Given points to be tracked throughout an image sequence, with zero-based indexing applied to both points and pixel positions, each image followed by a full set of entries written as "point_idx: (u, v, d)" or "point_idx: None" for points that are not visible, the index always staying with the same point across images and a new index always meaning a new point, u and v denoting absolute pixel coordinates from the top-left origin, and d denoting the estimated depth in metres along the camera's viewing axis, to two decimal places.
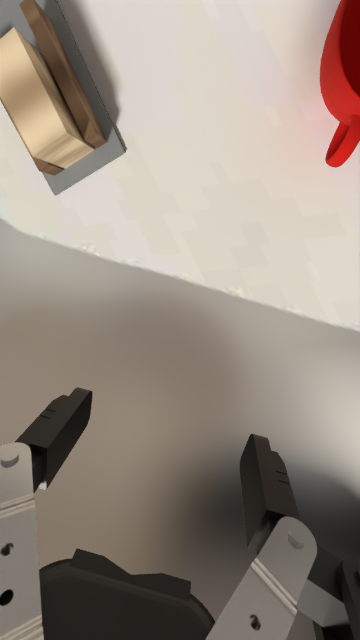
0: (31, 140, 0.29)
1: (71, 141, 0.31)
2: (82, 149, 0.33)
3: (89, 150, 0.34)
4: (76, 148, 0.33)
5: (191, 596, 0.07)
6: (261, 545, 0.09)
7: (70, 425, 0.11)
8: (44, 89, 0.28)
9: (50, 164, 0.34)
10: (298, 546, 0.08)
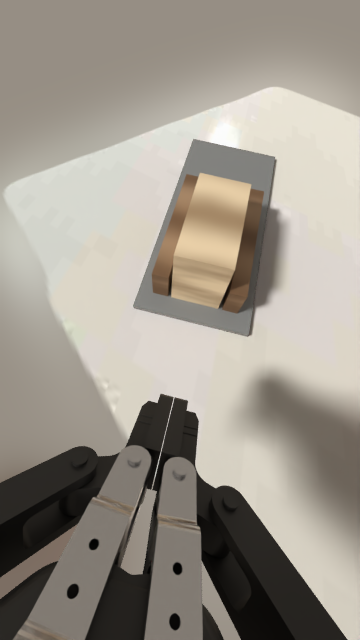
0: (187, 244, 0.21)
1: (221, 281, 0.22)
2: (212, 297, 0.25)
3: (215, 304, 0.26)
4: (210, 291, 0.24)
5: None
6: (158, 484, 0.10)
7: None
8: (241, 228, 0.22)
9: (168, 280, 0.25)
10: (178, 477, 0.09)
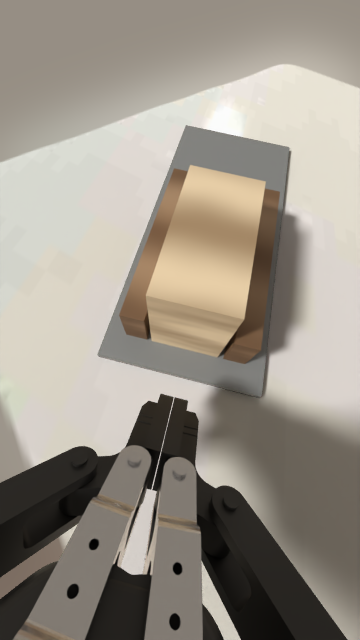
0: (168, 277, 0.13)
1: (221, 330, 0.15)
2: (209, 346, 0.17)
3: (213, 353, 0.18)
4: (206, 339, 0.16)
5: None
6: (158, 484, 0.10)
7: None
8: (253, 249, 0.15)
9: (144, 322, 0.17)
10: (178, 477, 0.09)
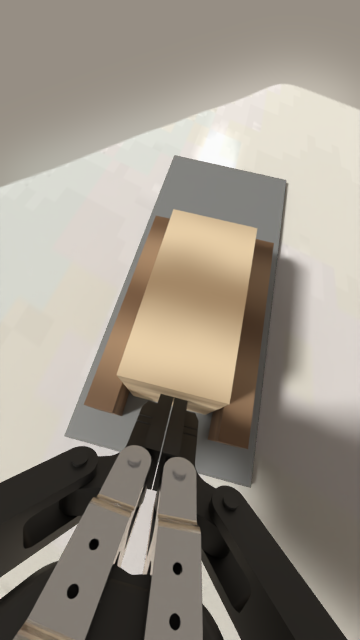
0: (143, 351, 0.12)
1: (206, 404, 0.13)
2: (195, 408, 0.16)
3: (200, 412, 0.17)
4: (191, 405, 0.15)
5: None
6: (158, 484, 0.10)
7: None
8: (241, 313, 0.13)
9: (114, 410, 0.14)
10: (178, 477, 0.09)
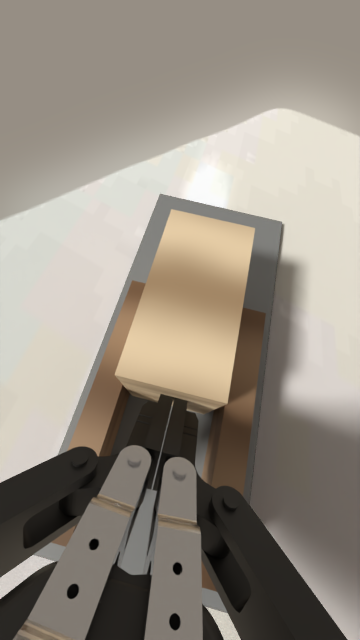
0: (141, 350, 0.12)
1: (204, 404, 0.13)
2: (194, 408, 0.16)
3: (199, 412, 0.17)
4: (189, 405, 0.15)
5: None
6: (159, 484, 0.10)
7: None
8: (239, 313, 0.13)
9: None
10: (178, 477, 0.09)
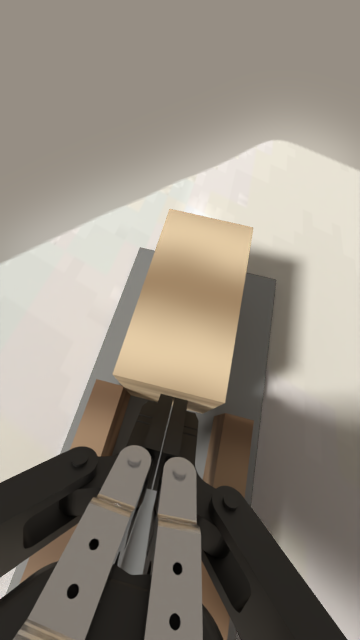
0: (139, 350, 0.12)
1: (202, 403, 0.13)
2: (192, 407, 0.16)
3: (198, 411, 0.17)
4: (188, 404, 0.15)
5: None
6: (159, 484, 0.10)
7: None
8: (237, 312, 0.13)
9: None
10: (178, 477, 0.09)
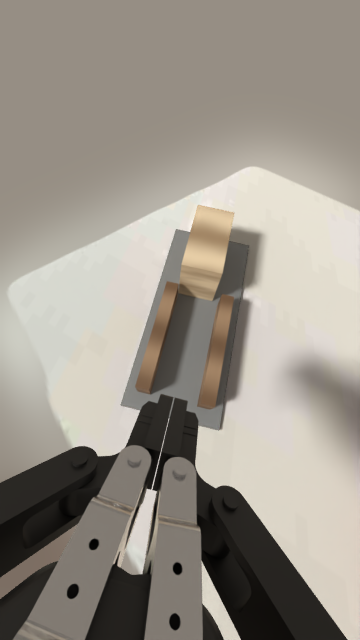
0: (190, 257, 0.32)
1: (213, 281, 0.33)
2: (208, 292, 0.36)
3: (210, 297, 0.37)
4: (206, 288, 0.35)
5: None
6: (159, 484, 0.10)
7: None
8: (227, 245, 0.33)
9: (149, 389, 0.29)
10: (178, 477, 0.09)
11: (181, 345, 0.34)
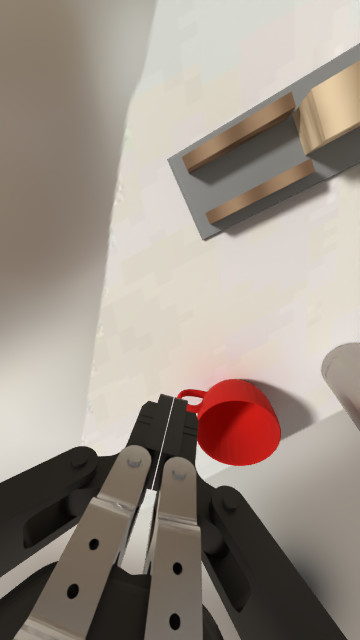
0: (327, 89, 0.27)
1: (317, 138, 0.30)
2: (307, 144, 0.32)
3: (305, 150, 0.34)
4: (309, 138, 0.31)
5: None
6: (158, 484, 0.10)
7: None
8: None
9: (188, 169, 0.34)
10: (178, 477, 0.09)
11: (242, 164, 0.36)
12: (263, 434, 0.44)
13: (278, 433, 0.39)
